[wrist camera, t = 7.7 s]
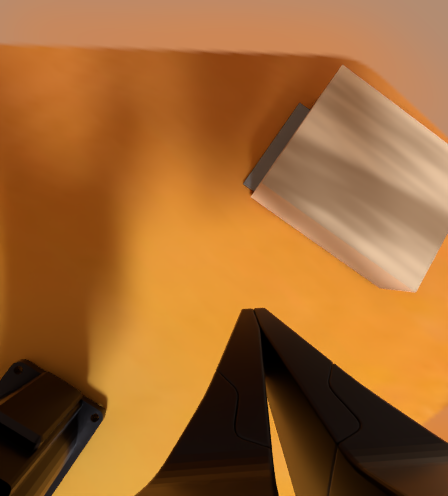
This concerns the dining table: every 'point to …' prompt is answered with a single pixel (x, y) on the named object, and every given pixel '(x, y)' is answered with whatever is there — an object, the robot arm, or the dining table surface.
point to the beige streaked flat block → (364, 184)
